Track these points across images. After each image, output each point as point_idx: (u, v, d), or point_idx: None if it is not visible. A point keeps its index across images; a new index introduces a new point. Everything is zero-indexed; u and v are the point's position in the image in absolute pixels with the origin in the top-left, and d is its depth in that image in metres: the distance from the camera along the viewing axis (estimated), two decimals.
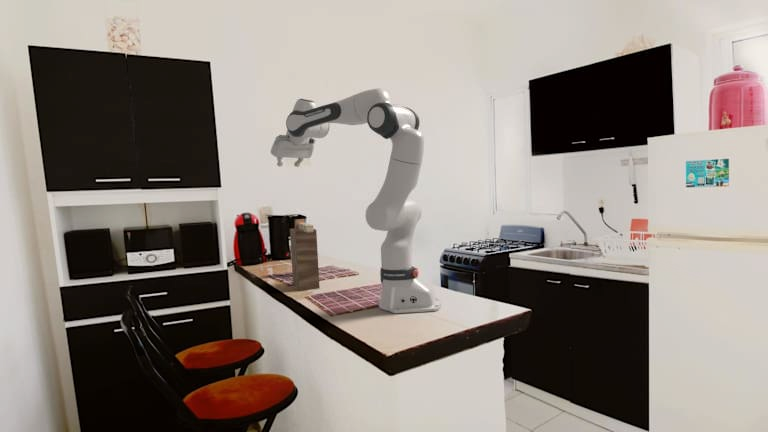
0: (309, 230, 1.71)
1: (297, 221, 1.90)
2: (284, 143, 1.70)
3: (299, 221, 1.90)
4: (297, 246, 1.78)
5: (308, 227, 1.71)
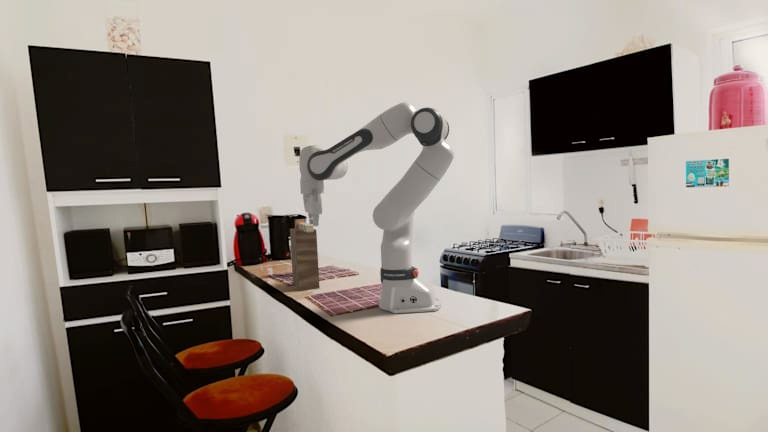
0: (309, 230, 1.71)
1: (297, 221, 1.90)
2: None
3: (299, 221, 1.90)
4: (297, 246, 1.78)
5: (308, 227, 1.71)
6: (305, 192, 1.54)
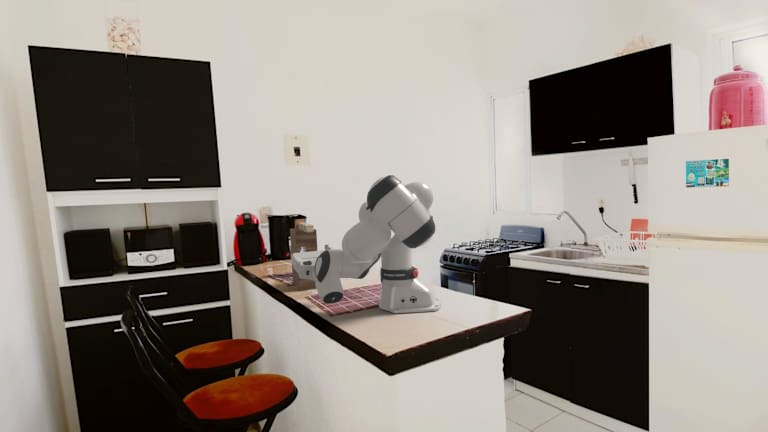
0: (309, 230, 1.71)
1: (297, 221, 1.90)
2: None
3: (299, 221, 1.90)
4: (297, 246, 1.78)
5: (308, 227, 1.71)
6: None
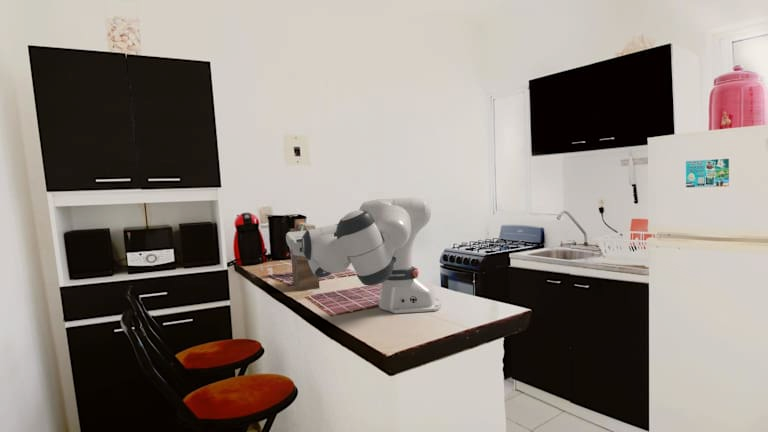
0: None
1: (297, 221, 1.90)
2: None
3: (299, 221, 1.90)
4: None
5: (308, 227, 1.71)
6: None
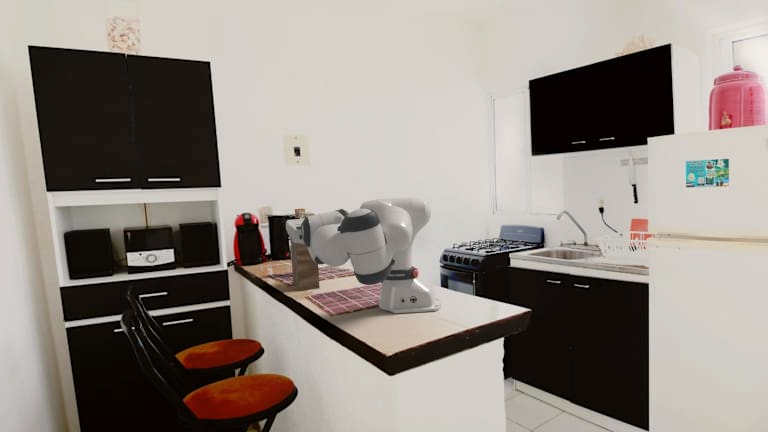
0: None
1: (297, 210, 1.89)
2: None
3: (299, 210, 1.90)
4: (297, 246, 1.78)
5: (308, 215, 1.70)
6: None
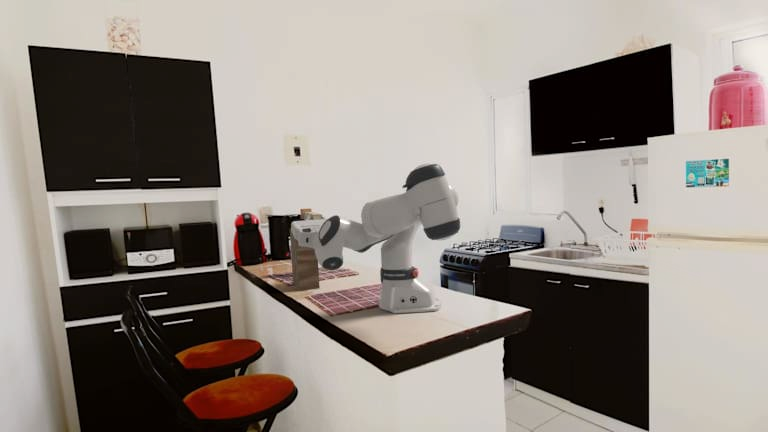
0: (316, 219, 1.58)
1: (303, 210, 1.77)
2: None
3: (305, 210, 1.77)
4: (297, 246, 1.78)
5: (315, 216, 1.58)
6: None
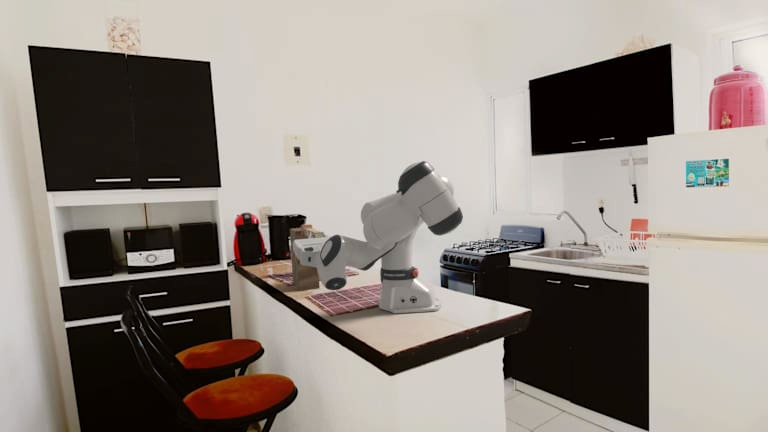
0: (318, 237, 1.56)
1: (304, 227, 1.75)
2: None
3: (306, 227, 1.75)
4: None
5: (317, 234, 1.56)
6: None
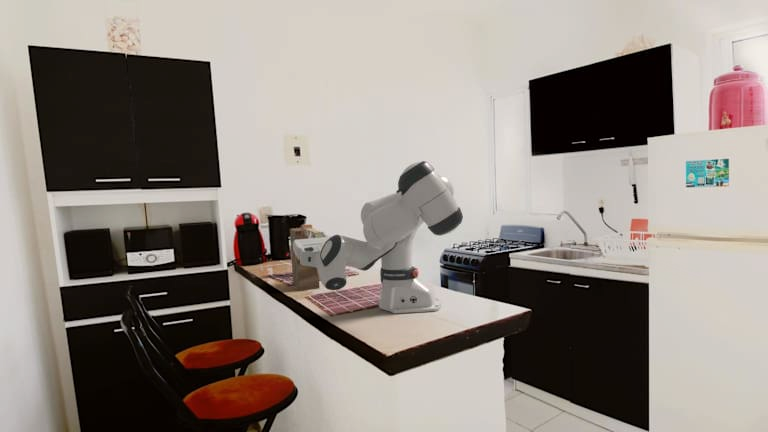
0: (318, 237, 1.56)
1: (304, 227, 1.75)
2: None
3: (306, 227, 1.75)
4: None
5: (317, 234, 1.56)
6: None
